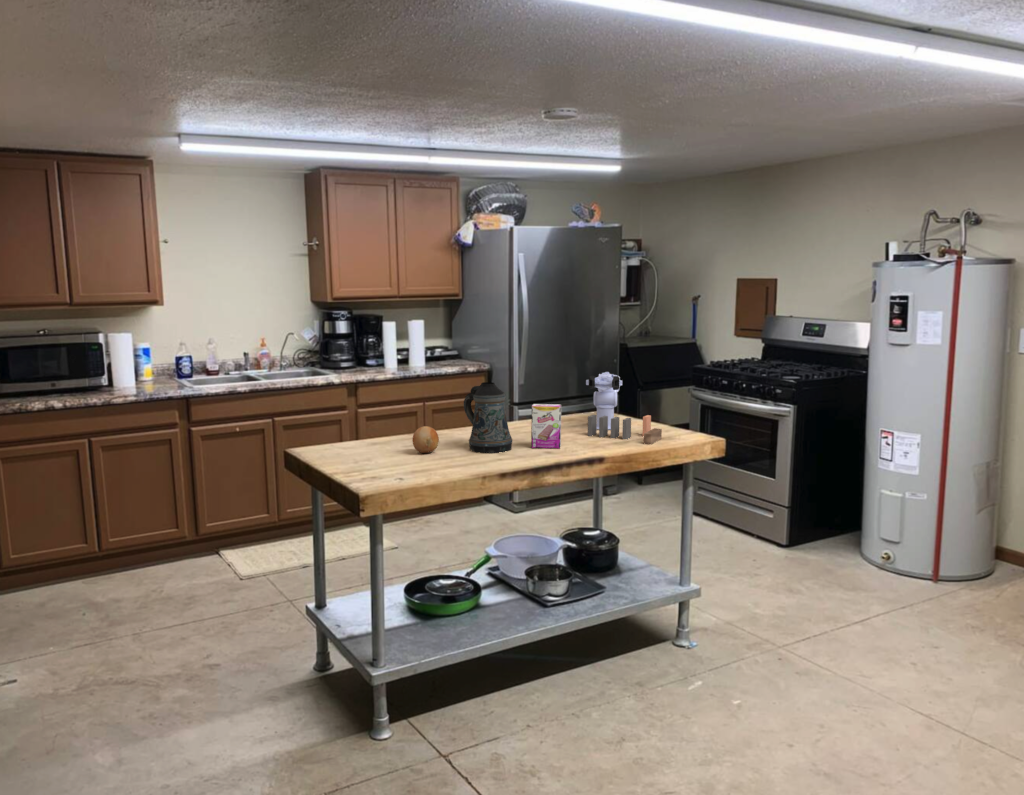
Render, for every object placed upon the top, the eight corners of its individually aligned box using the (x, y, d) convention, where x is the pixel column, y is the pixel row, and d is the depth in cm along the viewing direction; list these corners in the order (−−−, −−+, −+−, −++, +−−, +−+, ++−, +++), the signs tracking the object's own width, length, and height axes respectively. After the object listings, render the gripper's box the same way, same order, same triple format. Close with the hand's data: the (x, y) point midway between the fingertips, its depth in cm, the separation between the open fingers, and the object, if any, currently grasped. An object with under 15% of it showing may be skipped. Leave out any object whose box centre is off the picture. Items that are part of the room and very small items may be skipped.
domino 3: (610, 438, 320) (610, 418, 318) (615, 436, 324) (615, 416, 323) (614, 438, 319) (614, 419, 317) (619, 436, 323) (619, 417, 322)
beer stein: (508, 454, 294) (508, 386, 290) (456, 452, 297) (455, 386, 293) (515, 444, 310) (515, 380, 306) (466, 443, 313) (465, 379, 309)
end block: (643, 443, 309) (643, 433, 308) (654, 438, 319) (654, 428, 319) (650, 444, 308) (651, 434, 307) (661, 438, 318) (661, 428, 317)
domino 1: (587, 436, 324) (587, 416, 323) (592, 433, 329) (592, 414, 327) (591, 436, 324) (591, 416, 322) (596, 434, 328) (596, 414, 327)
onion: (419, 457, 290) (419, 430, 289) (408, 452, 299) (407, 425, 297) (443, 453, 295) (443, 427, 294) (431, 448, 304) (431, 422, 302)
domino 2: (599, 437, 322) (599, 417, 321) (604, 434, 326) (604, 415, 325) (602, 437, 321) (603, 418, 320) (607, 435, 325) (607, 415, 324)
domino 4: (622, 439, 317) (622, 419, 316) (627, 437, 321) (627, 417, 320) (626, 440, 316) (626, 420, 315) (630, 437, 321) (631, 418, 319)
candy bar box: (531, 448, 303) (530, 405, 300) (532, 445, 307) (531, 403, 305) (560, 449, 301) (560, 406, 299) (561, 446, 306) (561, 403, 304)
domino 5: (642, 436, 322) (642, 417, 321) (646, 434, 327) (647, 415, 325) (646, 437, 322) (646, 417, 320) (650, 434, 326) (651, 415, 325)
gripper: (587, 372, 332) (584, 373, 319) (622, 372, 330) (621, 374, 316) (587, 389, 333) (584, 391, 319) (622, 389, 330) (621, 391, 317)
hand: (603, 383), depth 318 cm, fingers open, 7 cm apart
